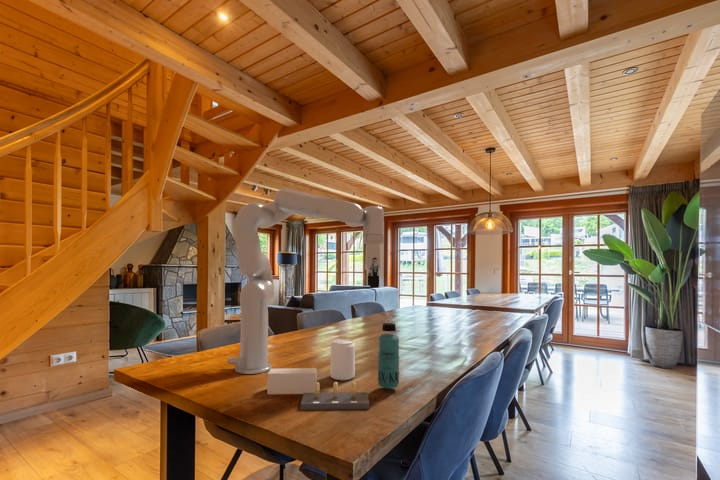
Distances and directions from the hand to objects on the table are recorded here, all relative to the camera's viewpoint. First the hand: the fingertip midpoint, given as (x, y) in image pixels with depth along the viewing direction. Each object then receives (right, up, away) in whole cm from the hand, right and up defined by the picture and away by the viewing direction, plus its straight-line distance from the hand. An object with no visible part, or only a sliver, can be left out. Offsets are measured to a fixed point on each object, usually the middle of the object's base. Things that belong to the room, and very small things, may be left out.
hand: (373, 286), depth 130 cm
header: (-12, -28, -33) cm, 44 cm away
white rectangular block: (-25, -28, -23) cm, 45 cm away
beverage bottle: (+4, -29, -22) cm, 36 cm away
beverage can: (-11, -29, -11) cm, 33 cm away
